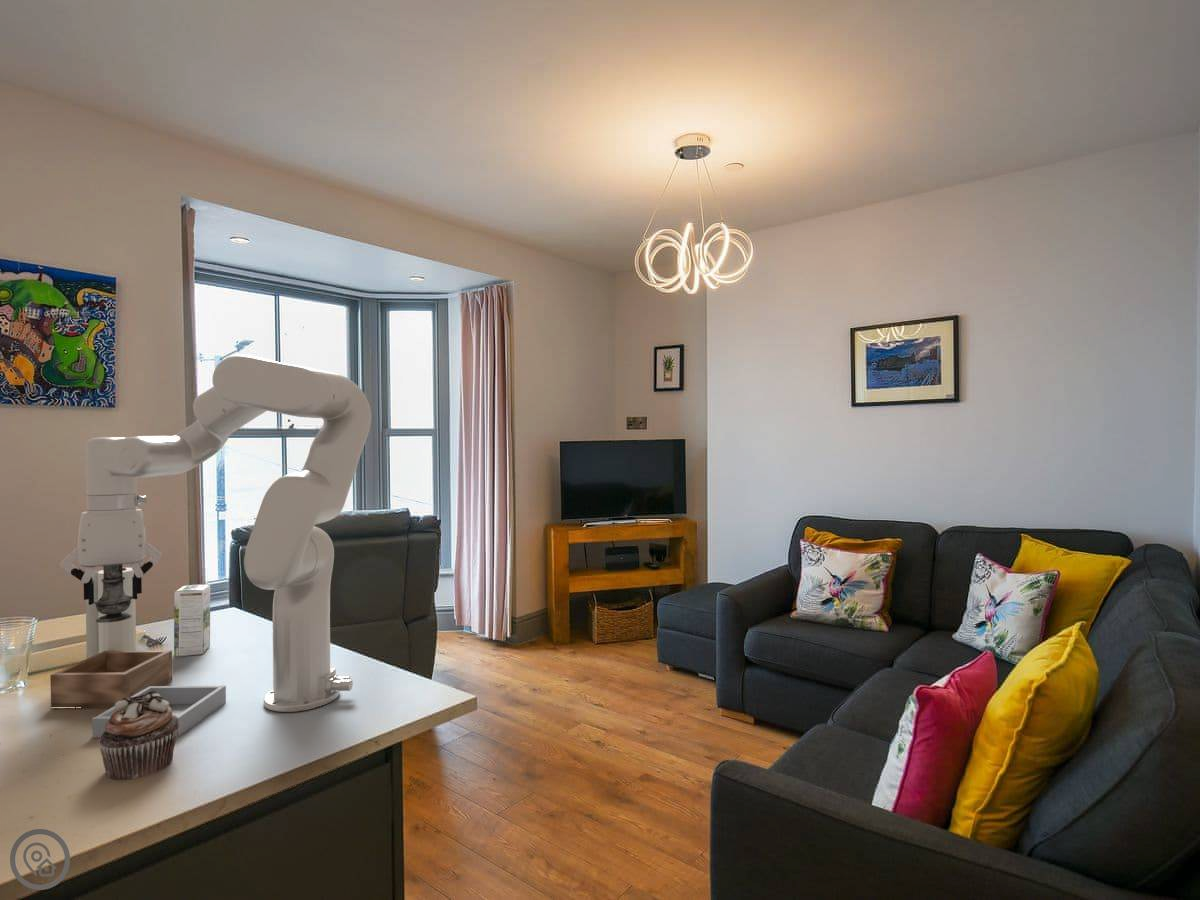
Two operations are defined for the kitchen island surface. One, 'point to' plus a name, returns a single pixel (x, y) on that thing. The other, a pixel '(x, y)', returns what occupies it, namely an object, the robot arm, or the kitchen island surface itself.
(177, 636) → the syrup box
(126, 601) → the grey chess piece
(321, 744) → the kitchen island surface
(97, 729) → the grey frame
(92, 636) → the paper towel roll
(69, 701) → the walnut bin
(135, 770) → the cupcake
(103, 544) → the robot arm
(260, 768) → the kitchen island surface
